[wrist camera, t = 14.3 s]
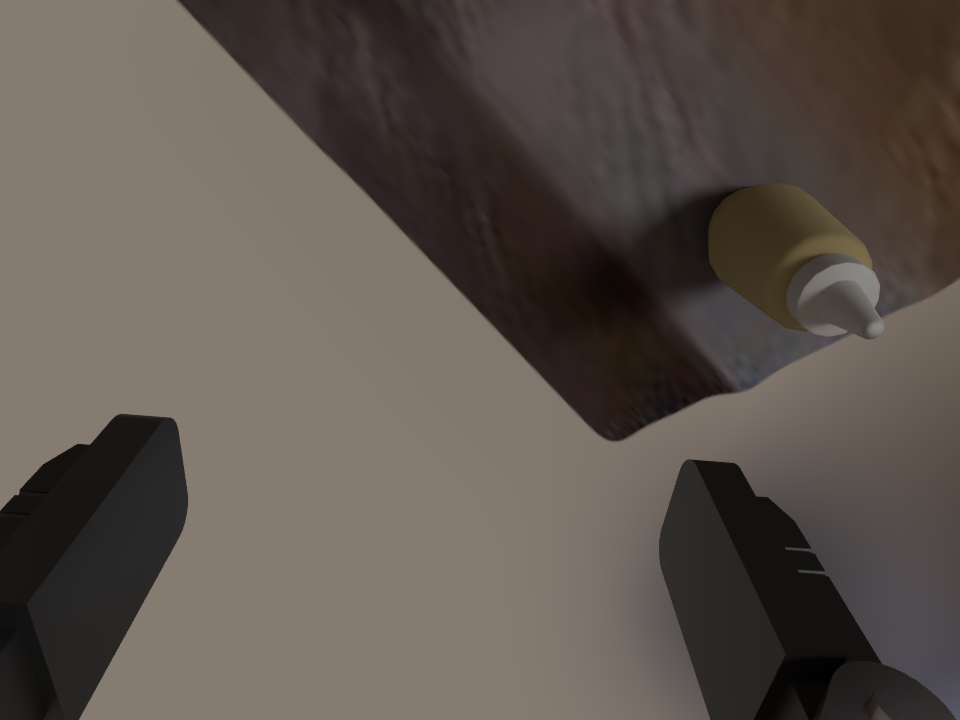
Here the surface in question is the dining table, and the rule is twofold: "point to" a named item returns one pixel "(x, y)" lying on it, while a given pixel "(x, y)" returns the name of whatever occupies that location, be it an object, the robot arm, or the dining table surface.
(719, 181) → the dining table surface
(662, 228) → the dining table surface
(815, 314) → the squeeze bottle
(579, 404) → the dining table surface
